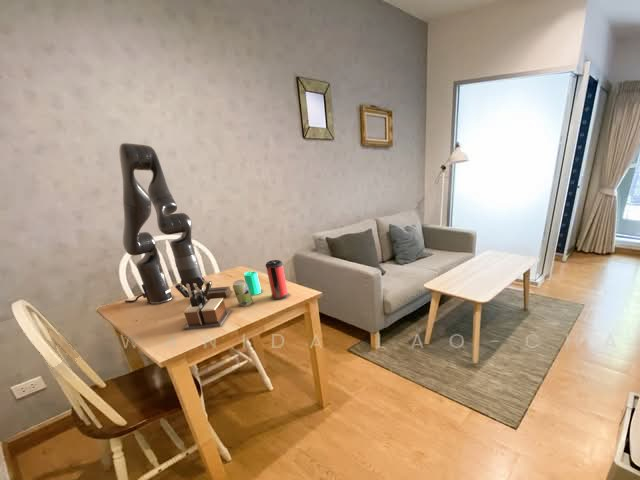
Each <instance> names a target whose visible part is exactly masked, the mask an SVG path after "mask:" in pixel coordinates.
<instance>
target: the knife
mask: <svg viewBox="0 0 640 480" xmlns="http://www.w3.org/2000/svg"><path fill="white" fill-rule="evenodd" d="M204 292H205V290H204ZM205 297H206V296H205ZM200 298H201V297H200V296H199V294H198V293H197V291H196V292H195V294H194V295H193V296H192V297H191V298H189V302H190V304H191V306H192V307H199V310H198V311H197V314H198V317H199V320H200V323H201V325H202V324H203V323H204V318H203V315H202V312H201V310H202V308H203V307H204V306H202V303H201V300H200Z"/></svg>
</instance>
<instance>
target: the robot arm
mask: <svg viewBox="0 0 640 480" xmlns="http://www.w3.org/2000/svg"><path fill="white" fill-rule="evenodd" d="M118 151H119V152H118V154H119V155H118V156H119V163H120V169H121V177H122V207H123V217H124V218H123V232H122V245H123V248H124V250H125V252H126V253H127V254H128V255H130V256H142V255H144V256H143V257H142V258H140V259H139V260H138V261H137V262H136V263H135V266H136V269H137V271H138V274H139V276H140V279H141V281H142V284H141V288H142V290H143V292H142V293H141V294H139V295H137V296H136V298H135V299H133V300H127V299H126V300H124V302H125V303H135V302H137V301H138V300H139V298H141V297H142V298H143V299H146V301H147V303H148V304H152V305H159V304H162V303H167V302H169V301H172V299H173V298H174V297H173V295H172V292H171V288H170V286H169V284H168V280H167V277H166V275H165V272H164V269H163V265H162V263H161V257H160V254H159V250H158V247H157V243H156V241H155V240H156V239H155V238H154V236H153V235H152V234H151V233H149V232H147V231H142V232H140V231H141V229H142V228H143V226H144V225H145V224H146V223H147V221H148V220H149V218H150V217H151V214H152V206H153V207H154V209H155V212H156V221H157V222H156V223H157V228H158V230H159V231H160V232H161V233H162V234H164V235H166V236H167V235H168V236H169V235H177V234H181V236H180V237H178V238H176V239H173V240H171V241H170V243H169V244H170V248H171V252H172V255H173V258H174V264H175V267H176V270H177V273H178V276H179V279H180V282H179V283H177V284H176V285H175V286H174V288H175V289H176V290H177V291H178V292H179V293H180V294H181V295H182V296H183V297H184V298H189V299H190V298H191V297H192V296H193V295H194V294H195V293H196V292H197V293H198V294H199V296H200V297H201V298H200V300H201V303H202V306H205V305H206V303H207V301H208V300H207V301H206V297H205V296H207V295H208V294H209V292H210V289H211V288H212V286H213V285H212V284H213V282H212V281H211V280H209V281H208V280H205V278H204V277H203V273H202V270H201V266H200V263H199V260H198V257H197V254H196V252H195V248H194V246H193V239H192V227H193V226H192V225H193V224H192V219H191V217H190V216H189V215H188V214H187V213H185V212H177V213H175V212H176V211H178V205H177V202H176V201H175V199H174V196H173V195H172V193H171V191H170V188H169V187H168V184H167V181H166V178H165V173H164V171H163V168H162V165H161V162H160V159H159V157H158V154H157V152H156V151H155V149H154V148H153V147H152V146H150V145H147V144H141V143H140V144H139V143H137V144H136V143H127V142H123V143H121V144H120V145H119V149H118ZM135 171H149V172H151V173H152V176H151V180H150V182H149V185H148V188H147V190H146V189H145V188H144V187H143V186H142V185H141V184H140V182H139V181H138V180H137V178H136V176H135ZM203 285H204V287H205V289H204V287H203ZM195 291H196V292H195ZM204 291H205V292H204Z"/></svg>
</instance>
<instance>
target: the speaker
mask: <svg viewBox="0 0 640 480" xmlns="http://www.w3.org/2000/svg"><path fill="white" fill-rule="evenodd" d="M265 268H266V272H267V273H266V274H267V278H268V282H269V287H270V292H271V298H272V299H274V300H283V299H285V298H287V297H288V296H289V293H288V289H287V282H286V277H285V271H284V263H283V261H281V260H280V259H272V260H269V261H267V262H266V263H265Z"/></svg>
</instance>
